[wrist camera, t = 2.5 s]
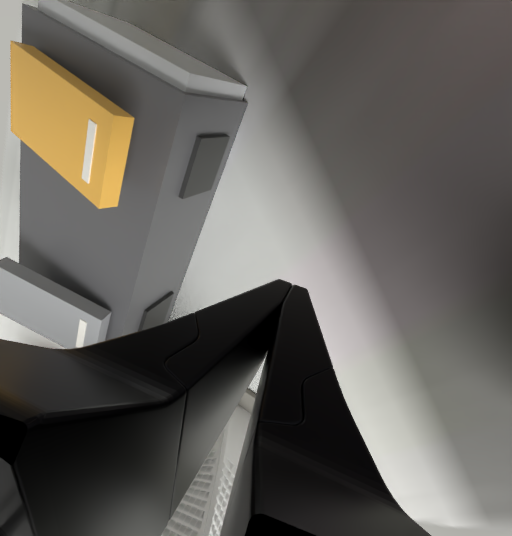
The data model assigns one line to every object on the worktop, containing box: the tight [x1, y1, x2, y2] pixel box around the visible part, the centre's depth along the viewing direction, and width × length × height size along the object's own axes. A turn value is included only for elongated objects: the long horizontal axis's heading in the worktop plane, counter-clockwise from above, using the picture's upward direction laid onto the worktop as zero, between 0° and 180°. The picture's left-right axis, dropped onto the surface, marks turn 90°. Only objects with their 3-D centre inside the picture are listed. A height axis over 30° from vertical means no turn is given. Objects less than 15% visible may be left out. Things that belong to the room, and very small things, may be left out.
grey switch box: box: [19, 0, 248, 341], centre depth 23 cm, size 10×22×6 cm, turn 154°
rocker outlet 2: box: [0, 257, 111, 349], centre depth 23 cm, size 8×4×1 cm, turn 65°
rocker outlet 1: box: [11, 41, 135, 209], centre depth 16 cm, size 8×4×1 cm, turn 64°
